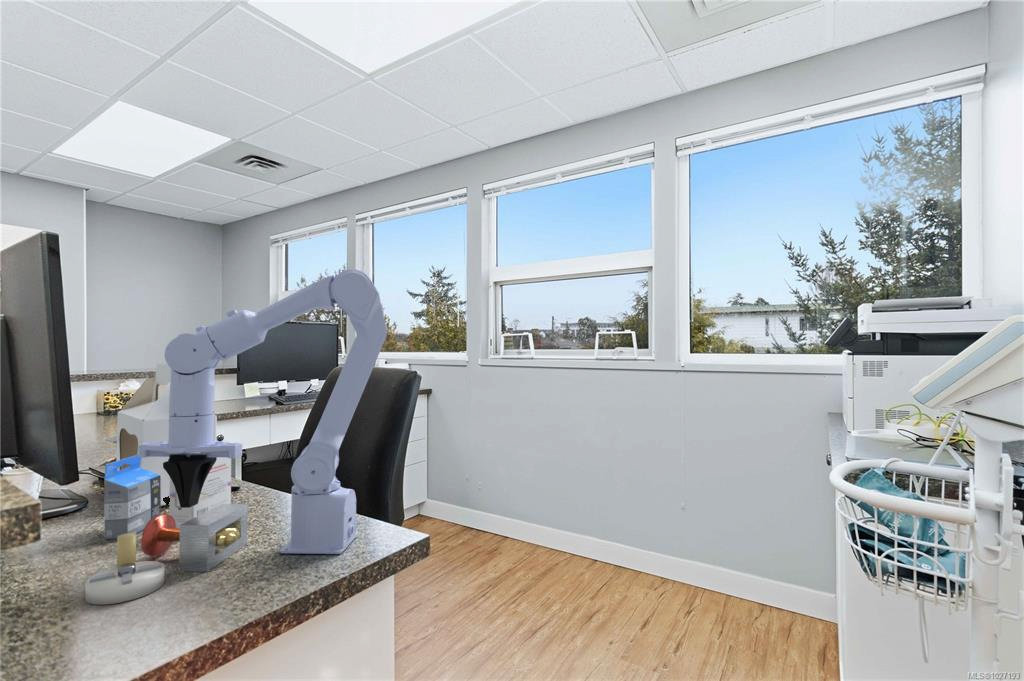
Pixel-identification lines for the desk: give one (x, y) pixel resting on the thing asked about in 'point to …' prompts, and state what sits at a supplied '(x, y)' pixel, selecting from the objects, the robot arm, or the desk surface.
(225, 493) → the ink cartridge box
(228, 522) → the eye block
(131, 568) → the wheel spindle
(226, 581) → the desk surface
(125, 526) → the label tape box
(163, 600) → the desk surface
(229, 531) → the hook rod
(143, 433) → the gable box
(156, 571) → the lock wheel
